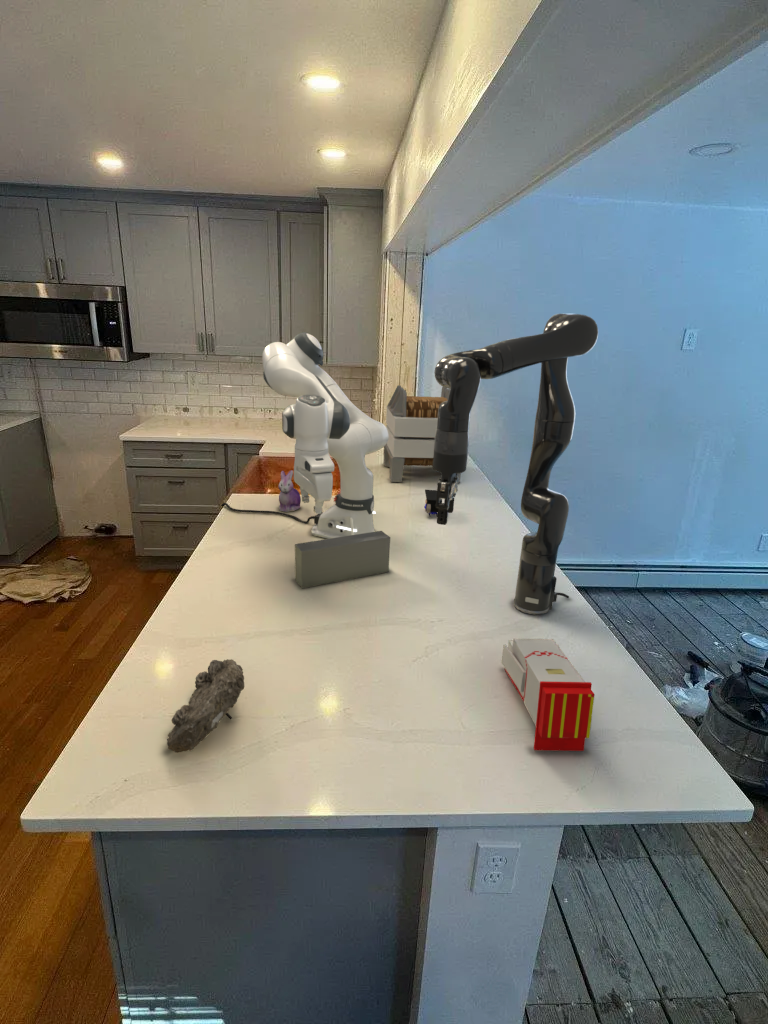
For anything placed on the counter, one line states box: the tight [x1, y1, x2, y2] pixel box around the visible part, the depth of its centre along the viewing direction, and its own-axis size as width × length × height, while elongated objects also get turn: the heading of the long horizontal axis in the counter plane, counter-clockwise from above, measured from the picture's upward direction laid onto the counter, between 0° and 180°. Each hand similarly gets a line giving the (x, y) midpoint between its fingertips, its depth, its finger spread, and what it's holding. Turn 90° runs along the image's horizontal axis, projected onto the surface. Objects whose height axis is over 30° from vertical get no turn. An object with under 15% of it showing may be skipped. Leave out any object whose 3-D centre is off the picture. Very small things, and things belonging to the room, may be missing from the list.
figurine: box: [278, 469, 302, 513], centre depth 217 cm, size 9×10×15 cm
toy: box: [500, 637, 595, 752], centre depth 114 cm, size 12×13×30 cm
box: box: [294, 530, 391, 589], centre depth 165 cm, size 28×6×11 cm, turn 118°
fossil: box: [166, 658, 245, 754], centre depth 106 cm, size 22×10×15 cm
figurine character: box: [424, 489, 443, 518], centre depth 221 cm, size 7×8×15 cm
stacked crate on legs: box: [383, 384, 462, 484], centre depth 268 cm, size 34×33×41 cm
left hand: (311, 507), depth 155 cm, fingers open, 8 cm apart
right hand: (445, 517), depth 131 cm, fingers open, 8 cm apart
